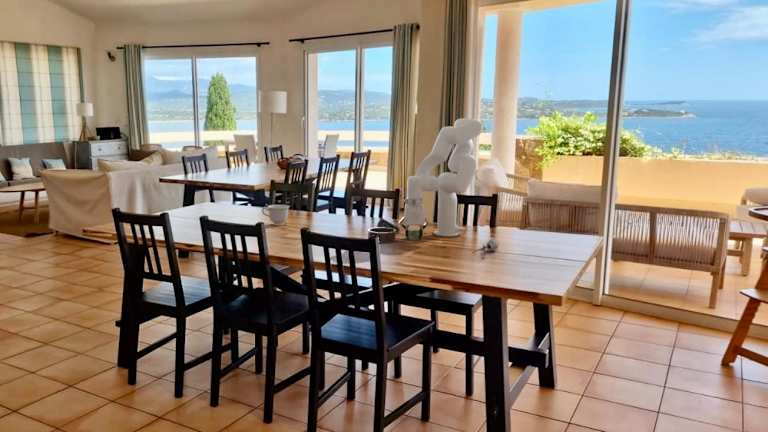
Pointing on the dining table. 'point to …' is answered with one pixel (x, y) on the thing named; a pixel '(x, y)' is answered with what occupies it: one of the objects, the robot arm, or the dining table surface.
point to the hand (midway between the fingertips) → (413, 237)
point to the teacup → (277, 213)
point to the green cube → (413, 234)
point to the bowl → (383, 234)
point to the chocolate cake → (387, 225)
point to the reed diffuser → (490, 246)
